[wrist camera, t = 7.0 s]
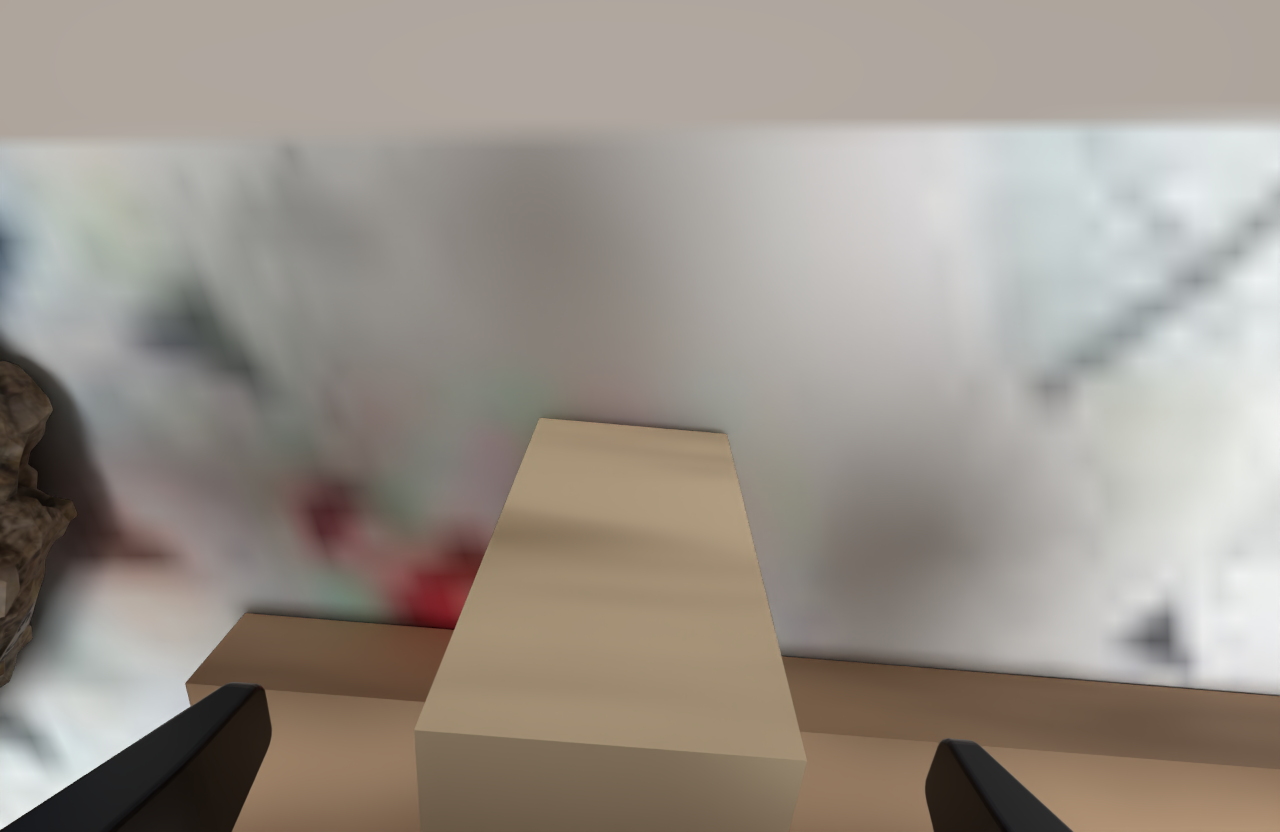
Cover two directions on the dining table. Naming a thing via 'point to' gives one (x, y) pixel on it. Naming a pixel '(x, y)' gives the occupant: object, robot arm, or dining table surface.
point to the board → (828, 722)
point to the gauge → (614, 652)
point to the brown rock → (23, 511)
